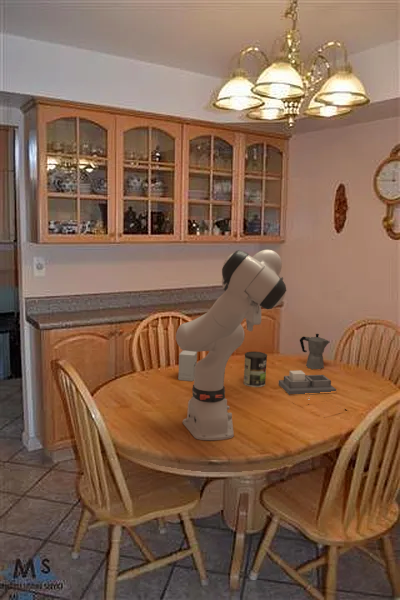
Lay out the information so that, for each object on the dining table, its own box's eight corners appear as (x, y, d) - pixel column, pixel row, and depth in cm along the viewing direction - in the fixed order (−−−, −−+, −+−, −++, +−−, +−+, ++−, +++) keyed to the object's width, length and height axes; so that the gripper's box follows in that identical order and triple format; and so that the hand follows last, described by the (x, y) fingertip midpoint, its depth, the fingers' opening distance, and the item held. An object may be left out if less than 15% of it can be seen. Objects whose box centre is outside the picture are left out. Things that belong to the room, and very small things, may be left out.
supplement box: (193, 381, 231) (194, 355, 229) (177, 380, 233) (178, 354, 230) (196, 376, 238) (197, 351, 236) (181, 375, 240) (182, 349, 238)
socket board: (335, 393, 222) (336, 382, 221) (288, 395, 218) (289, 384, 217) (322, 382, 235) (323, 372, 234) (278, 384, 231) (279, 373, 230)
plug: (304, 386, 223) (305, 373, 222) (292, 387, 222) (293, 374, 221) (300, 383, 228) (301, 370, 227) (288, 383, 227) (289, 370, 226)
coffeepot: (329, 366, 261) (331, 333, 257) (326, 371, 252) (328, 337, 249) (299, 362, 267) (302, 329, 263) (296, 367, 258) (298, 333, 255)
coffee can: (269, 383, 232) (271, 354, 230) (258, 389, 224) (259, 359, 222) (250, 378, 238) (252, 350, 236) (239, 383, 230) (240, 354, 228)
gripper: (266, 302, 198) (264, 336, 201) (251, 294, 218) (250, 324, 220) (250, 302, 197) (249, 336, 200) (237, 294, 217) (236, 325, 219)
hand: (249, 330), depth 210 cm, fingers closed
